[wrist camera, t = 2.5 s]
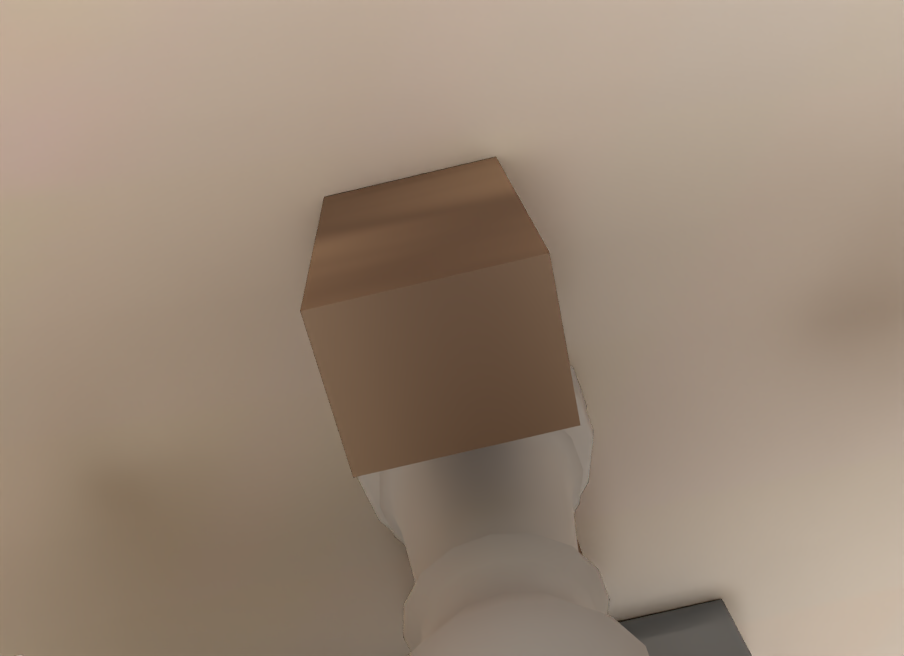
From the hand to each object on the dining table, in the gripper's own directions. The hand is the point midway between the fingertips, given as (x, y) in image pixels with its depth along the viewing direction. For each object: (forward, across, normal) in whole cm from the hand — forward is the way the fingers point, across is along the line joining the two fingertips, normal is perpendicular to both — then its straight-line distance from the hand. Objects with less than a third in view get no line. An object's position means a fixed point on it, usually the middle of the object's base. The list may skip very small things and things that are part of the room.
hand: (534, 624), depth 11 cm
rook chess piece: (+6, 0, 0) cm, 6 cm away
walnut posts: (+6, 0, 0) cm, 6 cm away
